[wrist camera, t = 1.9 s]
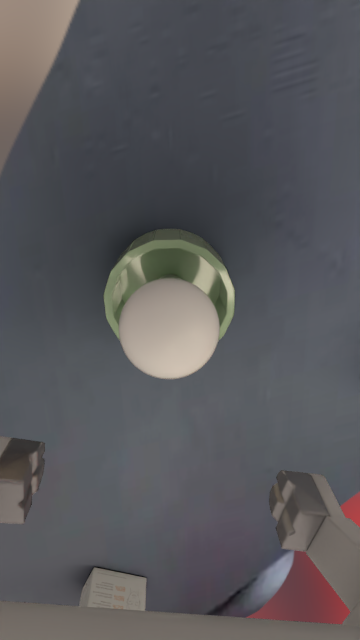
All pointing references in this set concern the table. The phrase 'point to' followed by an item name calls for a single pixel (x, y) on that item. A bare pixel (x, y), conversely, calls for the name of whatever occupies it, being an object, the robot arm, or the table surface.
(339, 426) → the table surface
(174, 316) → the lightbulb
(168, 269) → the green round bowl
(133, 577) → the small box
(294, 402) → the table surface
